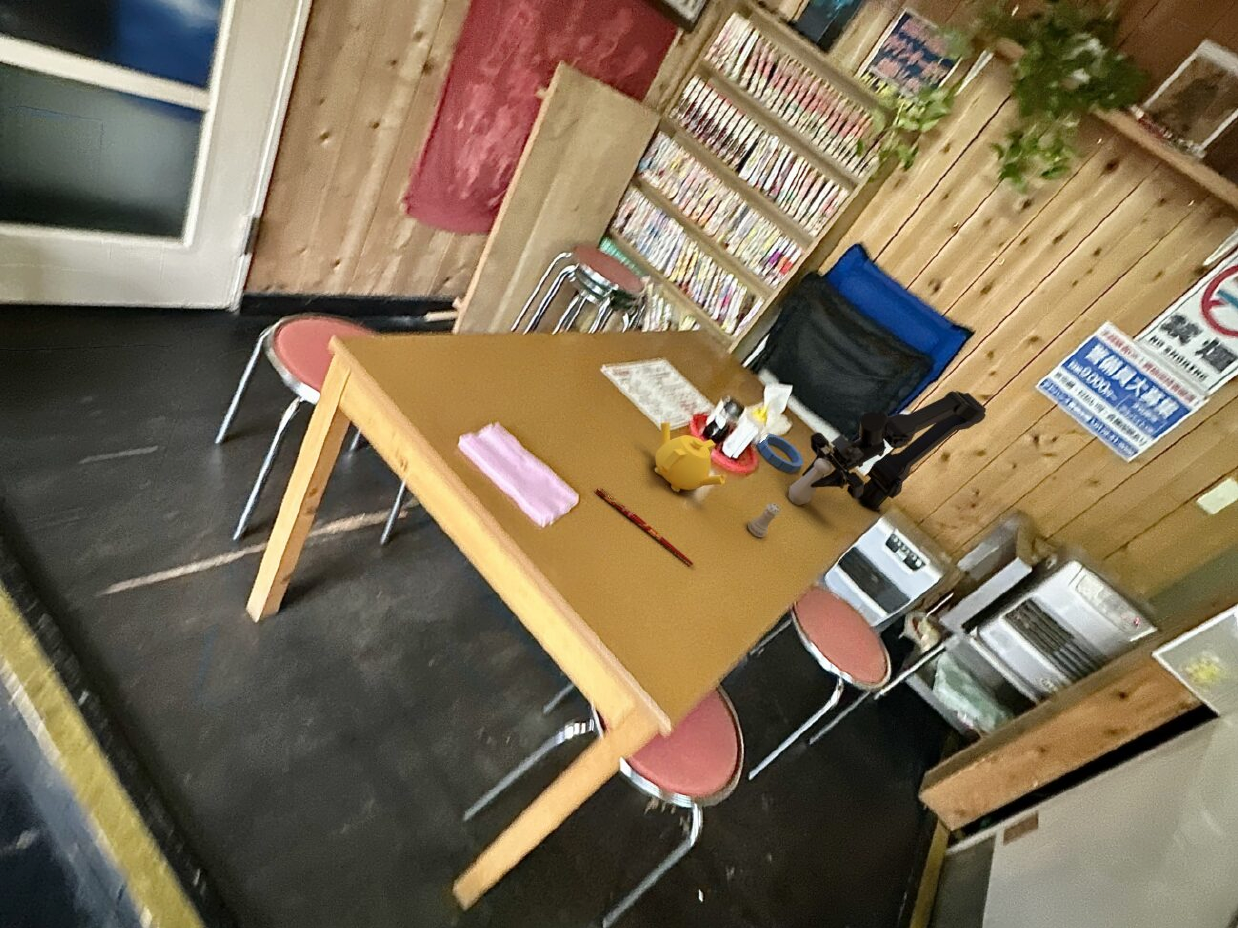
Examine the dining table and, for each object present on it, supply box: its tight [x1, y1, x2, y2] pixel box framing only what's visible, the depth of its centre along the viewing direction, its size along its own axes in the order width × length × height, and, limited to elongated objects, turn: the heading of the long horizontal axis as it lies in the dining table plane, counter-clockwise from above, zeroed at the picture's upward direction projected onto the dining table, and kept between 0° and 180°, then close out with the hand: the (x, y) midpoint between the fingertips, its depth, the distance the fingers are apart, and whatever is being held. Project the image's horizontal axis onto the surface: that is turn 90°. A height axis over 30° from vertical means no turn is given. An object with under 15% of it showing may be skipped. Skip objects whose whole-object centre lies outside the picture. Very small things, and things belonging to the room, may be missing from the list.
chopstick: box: [595, 488, 694, 566], centre depth 148 cm, size 2×24×1 cm, turn 61°
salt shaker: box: [787, 458, 833, 506], centre depth 185 cm, size 6×6×13 cm
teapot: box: [654, 422, 726, 493], centre depth 165 cm, size 20×18×11 cm
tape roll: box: [757, 433, 804, 474], centre depth 202 cm, size 13×13×2 cm
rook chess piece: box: [747, 502, 781, 538], centre depth 166 cm, size 4×4×8 cm
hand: (806, 480), depth 184 cm, fingers closed on salt shaker, 3 cm apart
